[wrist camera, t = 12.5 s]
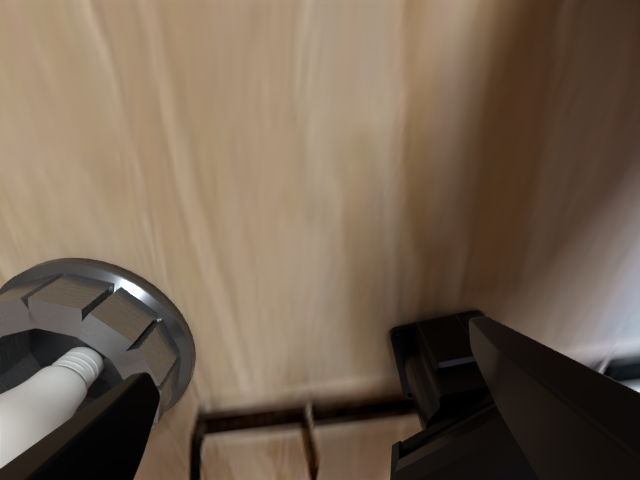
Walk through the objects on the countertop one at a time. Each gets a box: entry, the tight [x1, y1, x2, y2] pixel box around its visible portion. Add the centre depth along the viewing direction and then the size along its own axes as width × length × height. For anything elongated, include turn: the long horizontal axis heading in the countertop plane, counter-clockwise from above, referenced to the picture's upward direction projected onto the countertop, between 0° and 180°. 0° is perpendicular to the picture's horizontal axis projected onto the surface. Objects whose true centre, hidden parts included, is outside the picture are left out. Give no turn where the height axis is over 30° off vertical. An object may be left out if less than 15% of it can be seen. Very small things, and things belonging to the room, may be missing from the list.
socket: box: [0, 258, 196, 432], centre depth 22 cm, size 14×14×4 cm
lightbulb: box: [0, 347, 103, 468], centre depth 18 cm, size 6×6×11 cm
